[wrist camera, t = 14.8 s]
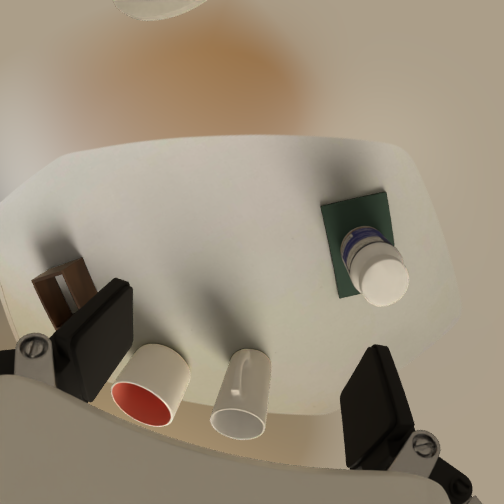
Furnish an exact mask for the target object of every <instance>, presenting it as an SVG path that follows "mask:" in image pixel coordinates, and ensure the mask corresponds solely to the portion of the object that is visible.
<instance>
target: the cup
mask: <svg viewBox="0 0 504 504" xmlns="http://www.w3.org/2000/svg"><path fill="white" fill-rule="evenodd" d="M189 381H190V370H189V367H188V365H187V363H186V362H185V360H184V359H183V358H182V357H181V356H180V355H179V354H178V353H177V352H175V351H174V350H172V349H171V348H168V347H166V346H164V345H160V344H147V345H143V346H141V347H140V348H139V349H138V350H137V351H136V352H135V353H134V355H133V356H132V358H131V359H130V360H129V362H128V363H127V365H126V366H125V367H124V369H123V370H122V372H121V373H120V374H119V376H118V377H117V379H116V380H115V382H114V383H113V384H112V386H111V394H112V397H113V399H114V401H115V403H116V404H117V405H118V407H119V408H120V409H121V410H122V411H123V412H125V413H126V414H127V415H128V416H130V417H131V418H133V419H135V420H137V421H139V422H141V423H143V424H146V425H150V426H158V427H161V426H166V425H168V424H170V423H171V422H172V420H173V418H174V416H175V413H176V411H177V409H178V406H179V404H180V402H181V400H182V397H183V395H184V393H185V391H186V388H187V386H188V384H189Z"/></svg>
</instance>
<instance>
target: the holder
mask: <svg viewBox="0 0 504 504" xmlns="http://www.w3.org/2000/svg"><path fill="white" fill-rule="evenodd" d="M61 274H62V275H63V277H64V279H65V282H66V284H67V286H68V288H69V291H70V293H71V295H72V297H73V299H74V301H75V303H76V305H77V307H78V309H80V308H81V307H82V306H84V305H85V304H86V303H87V302H88V301H89V300H90V299H91V298H92V297H93V296H95V295H96V294H97V293H98V292H97V290H96V288H95V286H94V284H93V281H92V279H91V277H90V275H89V272H88V270H87V267H86V265H85V263H84V260H83V258H79V259H76V260H73V261H71V262H68V263H65V264H62V265H59V266H56V267H53V268H51V269H48V270H47V271H45V272H44V273H42V274H40V275H39V276H37V277H36V278H34V279H33V280H31V281H32V283H33V285H34V288H35V290H36V292H37V294H38V296H39V298H40V301H41V303H42V305H43V307H44V309H45V311H46V313H47V315H48V317H49V319H50V321H51V322H52V324H53V326H54V328H55V330H56V331H57V330H58V329H59V328H60V327H61V326H62V325H63V324H64V323H65V322H66V321H67V320H68V319H69V318H71V317H72V316H73V315H74V314H75V313H74V314H72V313H71V311H70V309H69V307H68V305H67V303H66V301H65V298H64V296H63V294H62V292H61V290H60V288H59V286H58V283H57V281H56V279H55V276H58V275H61Z"/></svg>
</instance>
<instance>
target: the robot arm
mask: <svg viewBox="0 0 504 504" xmlns="http://www.w3.org/2000/svg"><path fill="white" fill-rule="evenodd" d="M132 343H133V289H132V287H130V284H129V282H127V281H124V280H121V279H118V278H114V279H113V280H112V281H110V282H109V283H108V284H107V285H106V286H105V287H104V288H102V289H101V290H100V291H99V292H98V293H97V294H96V295H95V296H93V297H92V298H91V299H90V300H89V301H88V302H87V303H86V304H85V305H84V306H82V307H81V308H80V309H79V310H78V311H77V312H76V313H75V314H74V315H73V316H72V317H71V318H69V319H68V320H67V321H66V322H65V323H64V324H63V325H62V326H61V327H60V328H59V329H58V330H57V331H56V332H55V333H54V334H53V335H52V336H51V337H50V338H48V337H47V336H46V335H44V334H41V333H30V334H27V335H25V336H23V337H22V338H20V339H19V341H18V342H17V344H16V349H12V350H2V351H0V504H482V503H481V502H480V501H479V499H478V498H477V497H476V496H473V497H472V496H471V495H472V484H471V481H470V480H469V478H468V477H467V476H466V475H464V474H463V473H461V472H460V471H458V470H457V469H456V468H454V467H453V466H451V465H450V464H449V463H447V462H446V461H444V460H443V459H441V458H440V457H439V454H440V444H439V441H438V440H437V438H436V437H435V436H434V435H433V434H432V433H430V432H428V431H425V430H417V431H415V428H414V425H415V424H414V421H413V417H412V414H411V411H410V408H409V405H408V402H407V399H406V396H405V393H404V390H403V387H402V384H401V381H400V378H399V375H398V372H397V369H396V367H395V364H394V361H393V359H392V356H391V353H390V351H389V348H388V347H387V346H382V345H376V344H374V345H373V346H372V347H368V348H367V350H366V351H365V353H364V355H363V357H362V359H361V360H360V362H359V364H358V366H357V367H356V369H355V371H354V373H353V374H352V376H351V378H350V379H349V381H348V383H347V384H346V386H345V387H344V389H343V391H342V393H341V396H340V405H341V414H342V422H343V433H344V443H345V454H346V465H347V467H348V468H350V470H346V469H329V468H315V467H305V466H297V465H289V464H281V463H275V462H269V461H263V460H257V459H252V458H247V457H242V456H237V455H232V454H228V453H224V452H220V451H216V450H212V449H208V448H205V447H200V446H197V445H194V444H190V443H187V442H184V441H181V440H178V439H174V438H171V437H168V436H165V435H162V434H160V433H157V432H154V431H151V430H148V429H146V428H143V427H141V426H138V425H135V424H133V423H130V422H128V421H126V420H123V419H121V418H119V417H116V416H114V415H112V414H110V413H107V412H105V411H103V410H101V409H98V408H96V407H94V406H92V405H90V404H88V402H92V401H93V400H94V399H95V398H96V396H97V395H98V393H99V392H100V390H101V389H102V387H103V386H104V384H105V383H106V382H107V380H108V379H109V377H110V376H111V374H112V373H113V371H114V370H115V369H116V367H117V366H118V364H119V363H120V362H121V360H122V359H123V357H124V356H125V354H126V353H127V352H128V350H129V349H130V347H131V346H132Z"/></svg>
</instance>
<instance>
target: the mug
mask: <svg viewBox="0 0 504 504" xmlns="http://www.w3.org/2000/svg"><path fill="white" fill-rule="evenodd" d="M270 380H271V361H270V359H269V358H268V357H267V356H266V355H265V354H264V353H262V352H261V351H258V350H255V349H242V350H239V351H237V352H236V353H234V354H233V356H232V357H231V360H230V363H229V365H228V368H227V371H226V374H225V377H224V380H223V382H222V385H221V388H220V391H219V394H218V397H217V399H216V402H215V405H214V408H213V411H212V415H211V417H210V423H211V425H212V427H213V428H214V429H215V430H216V431H218V432H219V433H220V434H222V435H224V436H227V437H229V438H233V439H239V440H248V439H253V438H257V437H259V436H260V435H261V434H262V433H263V432H264V430H265V425H266V418H267V409H268V399H269V389H270Z"/></svg>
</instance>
